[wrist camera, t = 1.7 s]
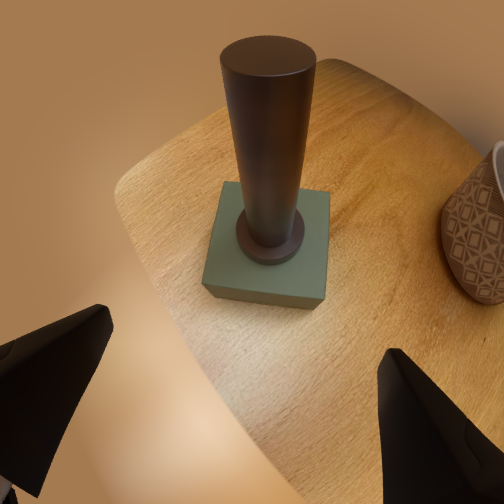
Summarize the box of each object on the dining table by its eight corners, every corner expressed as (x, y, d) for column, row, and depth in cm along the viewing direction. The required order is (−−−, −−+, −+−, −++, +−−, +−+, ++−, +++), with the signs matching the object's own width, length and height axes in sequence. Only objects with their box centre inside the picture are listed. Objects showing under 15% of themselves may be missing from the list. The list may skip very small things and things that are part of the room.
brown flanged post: (282, 277, 18) (307, 116, 5) (225, 245, 19) (161, 75, 6) (313, 224, 19) (361, 49, 6) (259, 196, 20) (244, 20, 8)
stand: (313, 310, 21) (324, 299, 17) (214, 297, 22) (201, 284, 18) (320, 219, 24) (330, 191, 20) (231, 209, 25) (223, 180, 21)
